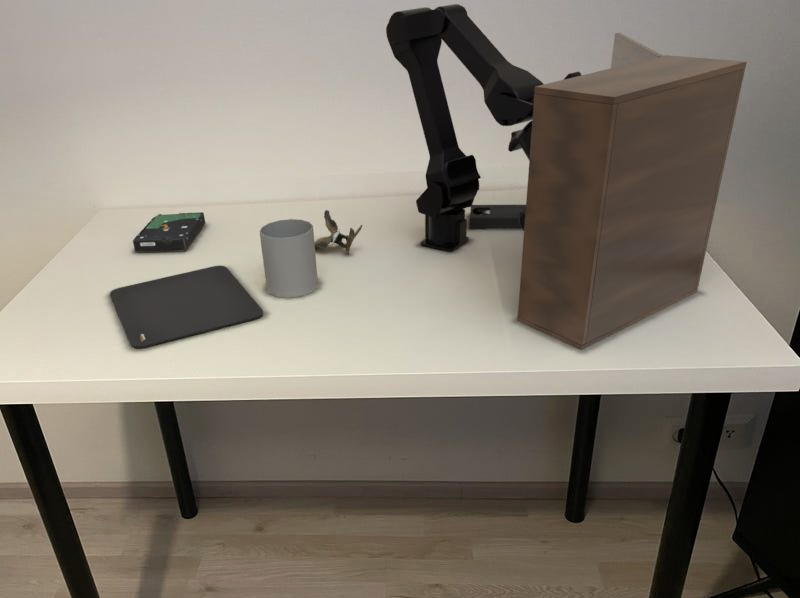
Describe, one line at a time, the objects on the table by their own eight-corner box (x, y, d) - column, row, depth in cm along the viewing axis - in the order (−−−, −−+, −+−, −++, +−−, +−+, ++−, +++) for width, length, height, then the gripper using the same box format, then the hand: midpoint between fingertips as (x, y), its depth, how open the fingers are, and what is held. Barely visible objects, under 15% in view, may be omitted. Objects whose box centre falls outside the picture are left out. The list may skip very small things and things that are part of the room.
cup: (324, 278, 118) (320, 220, 113) (307, 299, 112) (302, 239, 107) (278, 274, 121) (271, 218, 116) (258, 295, 115) (251, 236, 109)
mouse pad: (108, 291, 120) (108, 290, 120) (224, 265, 126) (223, 263, 126) (132, 350, 101) (132, 348, 101) (266, 316, 108) (266, 314, 107)
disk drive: (187, 252, 133) (206, 224, 146) (185, 238, 132) (204, 210, 145) (134, 254, 135) (157, 225, 147) (131, 240, 133) (154, 212, 146)
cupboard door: (625, 212, 133) (653, 30, 117) (665, 267, 112) (705, 53, 96) (592, 213, 134) (614, 32, 118) (625, 268, 113) (658, 56, 97)
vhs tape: (546, 214, 136) (547, 204, 135) (549, 229, 130) (550, 218, 129) (470, 214, 139) (471, 204, 138) (469, 228, 133) (469, 218, 132)
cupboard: (517, 321, 101) (534, 86, 85) (631, 270, 112) (665, 55, 96) (581, 351, 92) (614, 97, 76) (697, 292, 104) (747, 61, 88)
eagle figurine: (368, 238, 129) (329, 221, 133) (358, 214, 123) (318, 198, 127) (344, 270, 128) (306, 253, 132) (334, 248, 122) (294, 230, 126)
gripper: (542, 136, 90) (604, 241, 88) (634, 110, 99) (694, 205, 96) (493, 184, 100) (548, 280, 98) (581, 156, 108) (634, 244, 106)
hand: (608, 251), depth 99 cm, fingers open, 9 cm apart
